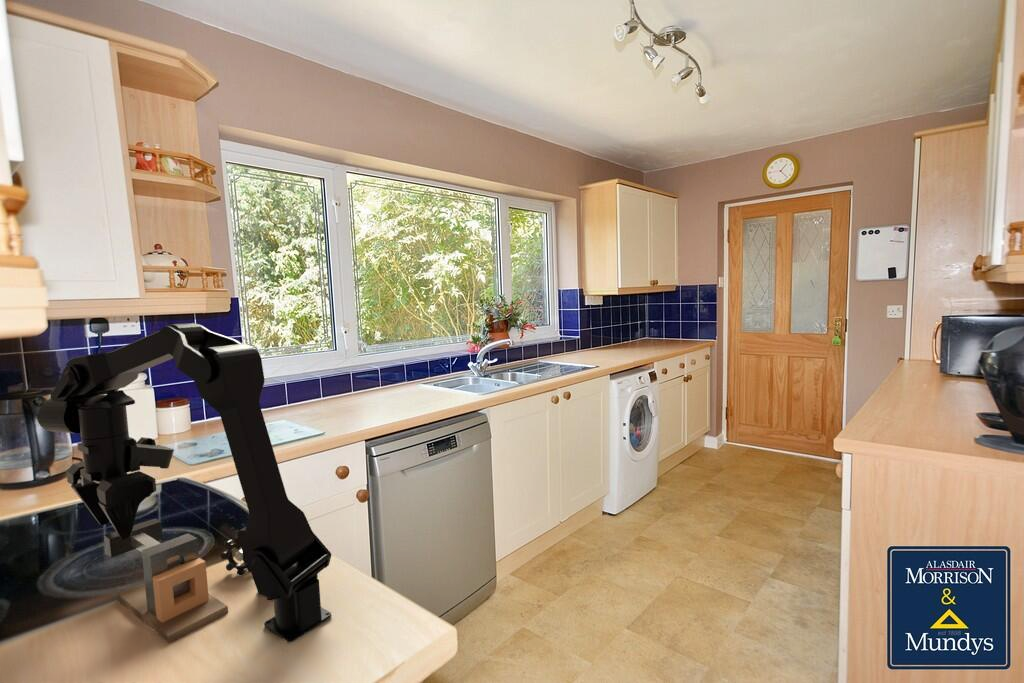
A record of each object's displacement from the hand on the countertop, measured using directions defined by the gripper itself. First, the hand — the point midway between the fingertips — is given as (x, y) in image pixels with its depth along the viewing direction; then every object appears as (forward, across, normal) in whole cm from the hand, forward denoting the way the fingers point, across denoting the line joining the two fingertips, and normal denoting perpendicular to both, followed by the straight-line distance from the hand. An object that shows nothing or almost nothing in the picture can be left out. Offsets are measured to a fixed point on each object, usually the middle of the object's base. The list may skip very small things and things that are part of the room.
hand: (115, 531), depth 78 cm
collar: (+8, -17, -2) cm, 19 cm away
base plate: (+9, -13, -2) cm, 16 cm away
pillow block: (+9, -14, -2) cm, 17 cm away
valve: (+10, -10, -18) cm, 23 cm away
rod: (+3, -7, -2) cm, 8 cm away
